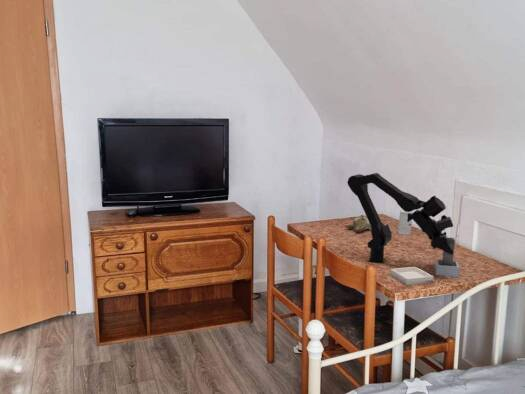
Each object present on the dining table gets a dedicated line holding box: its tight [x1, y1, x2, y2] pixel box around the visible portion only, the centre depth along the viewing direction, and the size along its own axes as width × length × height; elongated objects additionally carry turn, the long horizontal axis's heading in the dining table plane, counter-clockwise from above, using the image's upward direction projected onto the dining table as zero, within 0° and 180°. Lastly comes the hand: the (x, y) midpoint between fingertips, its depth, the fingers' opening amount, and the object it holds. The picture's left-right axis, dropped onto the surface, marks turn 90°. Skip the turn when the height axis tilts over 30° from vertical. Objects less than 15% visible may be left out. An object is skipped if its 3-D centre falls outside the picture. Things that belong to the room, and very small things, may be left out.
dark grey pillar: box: [441, 237, 456, 266], centre depth 201 cm, size 4×4×12 cm
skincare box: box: [397, 209, 414, 236], centre depth 259 cm, size 6×4×12 cm
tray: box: [389, 266, 434, 286], centre depth 194 cm, size 12×12×2 cm
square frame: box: [434, 258, 460, 278], centre depth 202 cm, size 8×8×4 cm
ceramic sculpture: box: [343, 214, 371, 233], centre depth 265 cm, size 11×9×15 cm
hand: (452, 252), depth 200 cm, fingers closed on dark grey pillar, 4 cm apart
